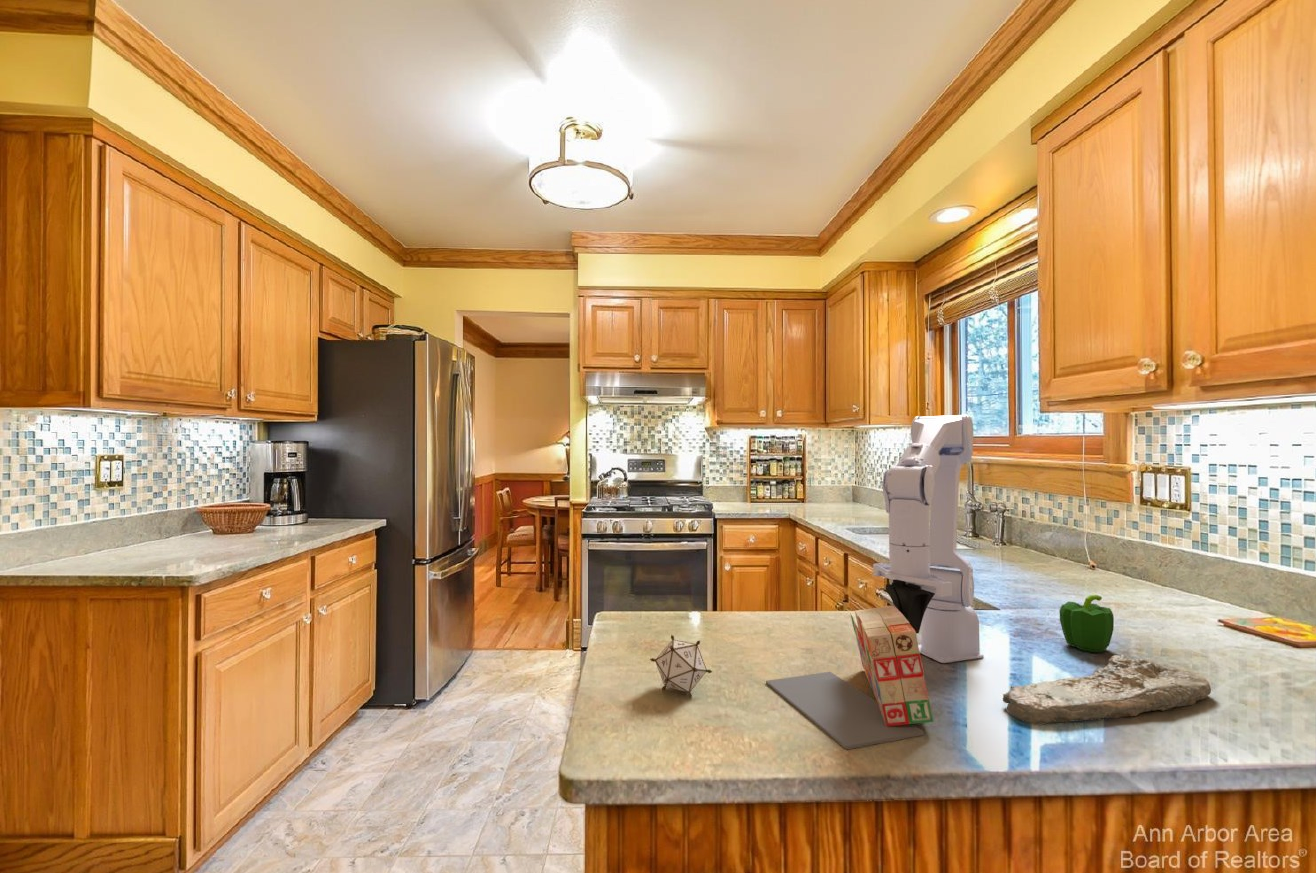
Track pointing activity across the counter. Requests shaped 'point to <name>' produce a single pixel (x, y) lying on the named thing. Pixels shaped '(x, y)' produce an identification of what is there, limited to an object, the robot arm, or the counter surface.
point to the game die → (681, 665)
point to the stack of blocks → (892, 665)
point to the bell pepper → (1087, 624)
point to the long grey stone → (1107, 693)
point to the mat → (840, 710)
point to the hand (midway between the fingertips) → (910, 632)
